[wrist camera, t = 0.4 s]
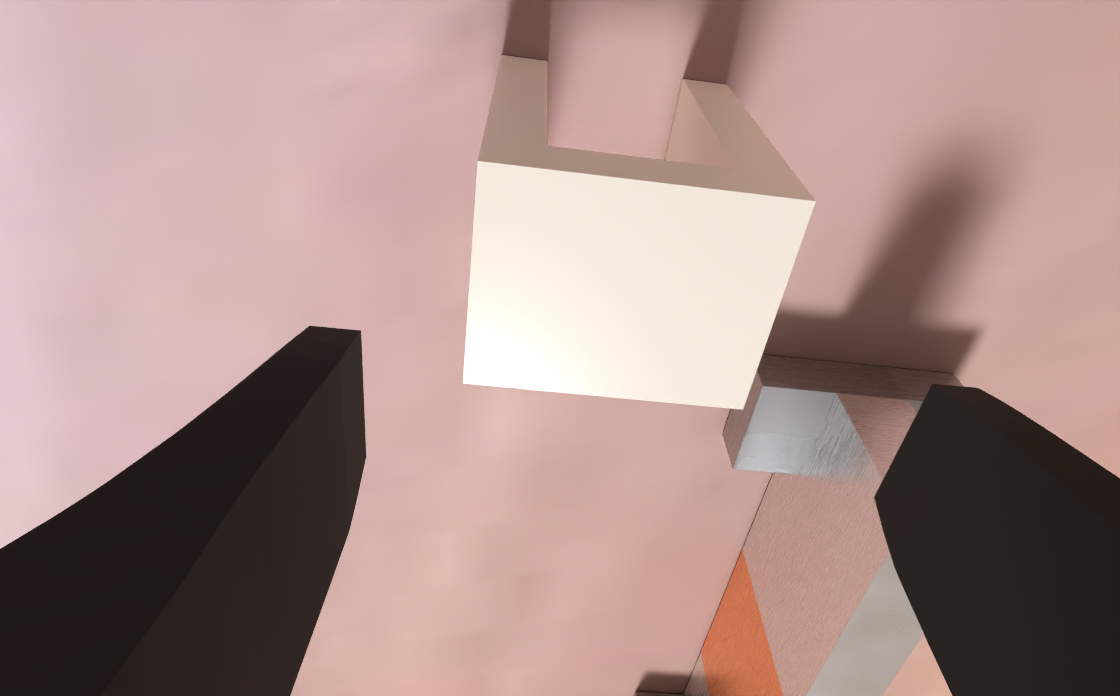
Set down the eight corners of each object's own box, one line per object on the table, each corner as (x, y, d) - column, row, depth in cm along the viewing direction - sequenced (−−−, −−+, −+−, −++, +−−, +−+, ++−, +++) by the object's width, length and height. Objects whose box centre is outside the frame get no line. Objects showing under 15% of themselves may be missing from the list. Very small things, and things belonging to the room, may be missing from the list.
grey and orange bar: (953, 373, 21) (1080, 538, 16) (757, 737, 32) (795, 900, 27) (749, 353, 20) (814, 516, 15) (623, 730, 31) (637, 894, 26)
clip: (726, 84, 16) (815, 200, 11) (686, 246, 18) (743, 409, 13) (502, 55, 16) (477, 161, 10) (488, 224, 18) (462, 383, 13)
